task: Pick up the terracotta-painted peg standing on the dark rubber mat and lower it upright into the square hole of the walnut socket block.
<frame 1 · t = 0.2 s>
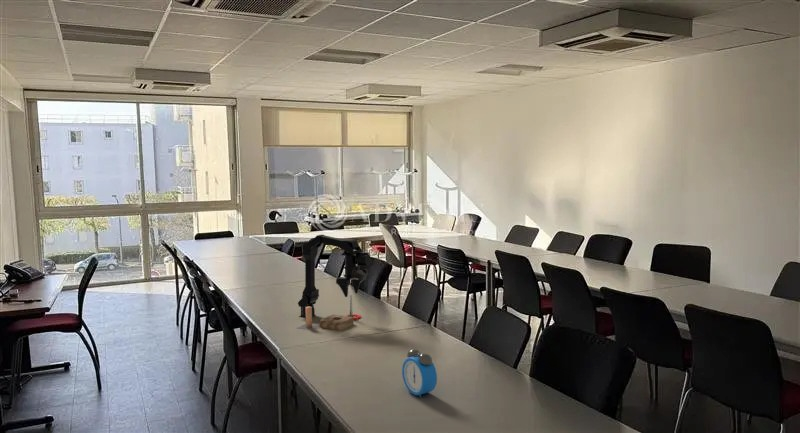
hand: (351, 295, 290), 14 cm above the table, fingers open, 9 cm apart
socket block: (336, 326, 285), on the table
alarm clock: (419, 393, 202), on the table
tow hook: (352, 318, 301), on the table
mat: (309, 328, 283), on the table
peg: (309, 327, 283), resting on mat
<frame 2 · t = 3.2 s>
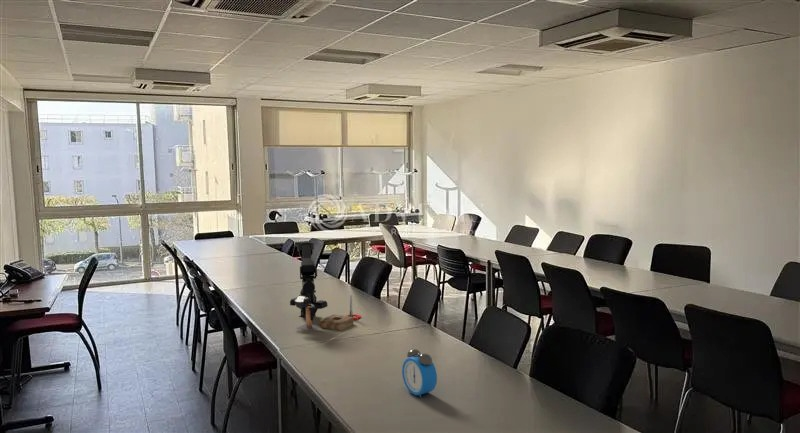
hand: (308, 320, 282), 4 cm above the table, fingers closed on peg, 3 cm apart
peg: (309, 327, 283), resting on mat, touching gripper
everything else where it was.
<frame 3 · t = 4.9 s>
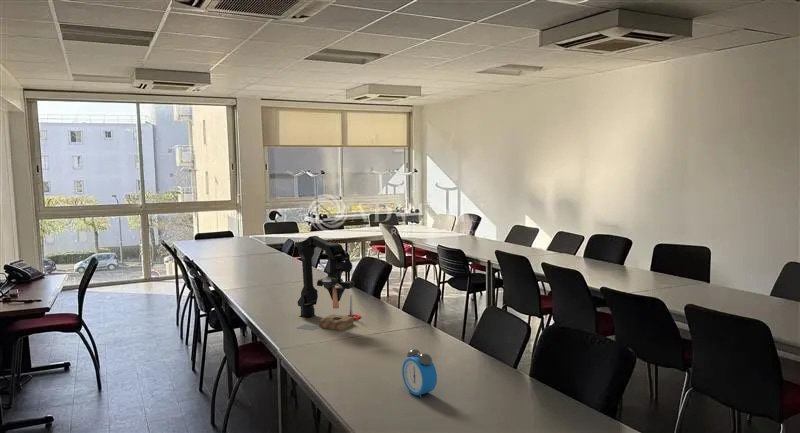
hand: (335, 300, 284), 13 cm above the table, fingers closed on peg, 3 cm apart
peg: (335, 307, 284), point 9 cm above the table, touching gripper
everything else where it was.
when the fingers open (5 cm above the table, at t = 6.9 s): peg drops 2 cm, resting in socket block.
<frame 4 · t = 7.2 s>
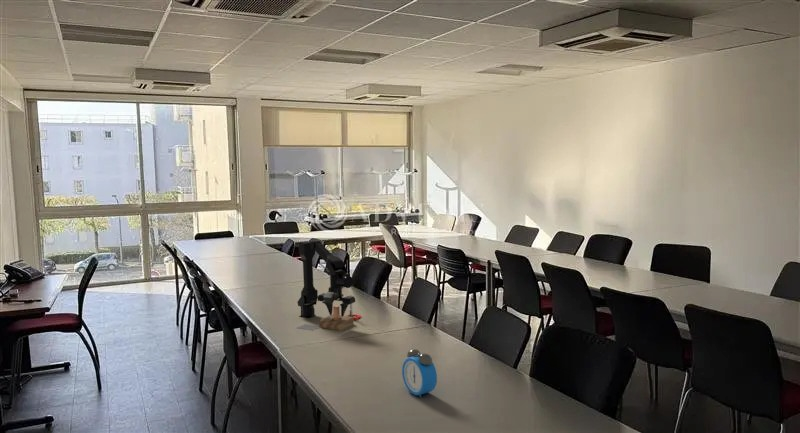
hand: (336, 315, 285), 5 cm above the table, fingers open, 6 cm apart
peg: (336, 326, 285), resting in socket block
everything else where it was.
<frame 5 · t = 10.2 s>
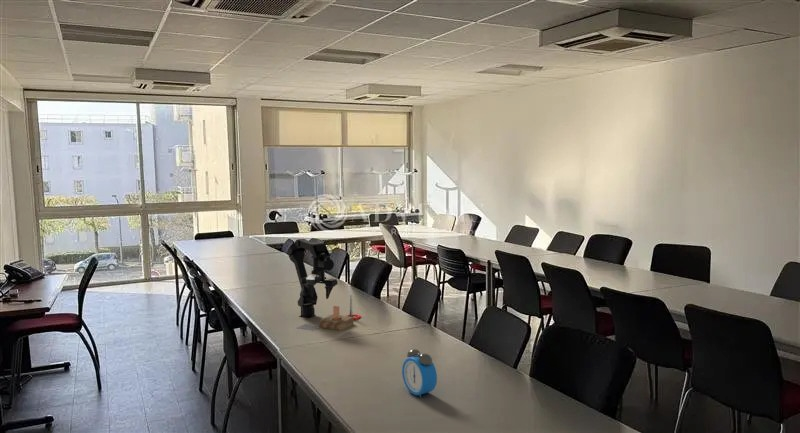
hand: (319, 298, 292), 13 cm above the table, fingers open, 9 cm apart
nothing on the table moved.
at the end: peg 0.1 cm off-centre on the socket block, point 0.0 cm above the socket block's base; peg tilted 0°; the gripper is holding nothing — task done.
